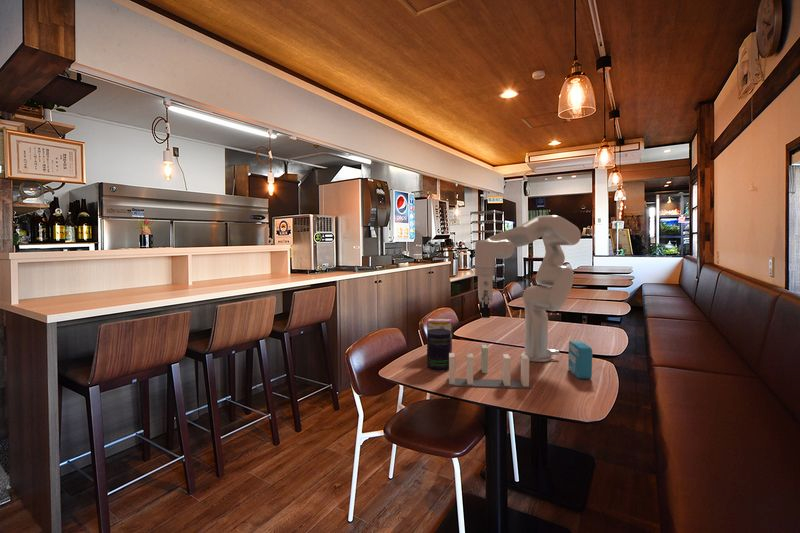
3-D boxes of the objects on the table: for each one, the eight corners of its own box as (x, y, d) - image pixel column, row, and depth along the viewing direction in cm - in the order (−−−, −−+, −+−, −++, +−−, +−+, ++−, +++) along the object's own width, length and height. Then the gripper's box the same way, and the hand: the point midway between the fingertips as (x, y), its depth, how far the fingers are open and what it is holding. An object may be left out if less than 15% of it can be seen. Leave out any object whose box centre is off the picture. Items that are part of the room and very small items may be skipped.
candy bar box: (426, 357, 180) (426, 320, 179) (427, 354, 185) (427, 318, 184) (452, 357, 179) (452, 321, 178) (451, 354, 184) (451, 318, 183)
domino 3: (508, 380, 149) (508, 354, 148) (510, 385, 144) (510, 358, 143) (502, 380, 149) (502, 354, 148) (504, 385, 144) (504, 358, 143)
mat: (527, 381, 149) (527, 380, 149) (531, 388, 142) (531, 387, 142) (446, 379, 153) (446, 378, 153) (447, 386, 145) (447, 385, 145)
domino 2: (472, 379, 150) (472, 353, 150) (473, 384, 145) (473, 357, 145) (466, 379, 151) (466, 353, 150) (467, 384, 146) (467, 357, 145)
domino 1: (454, 379, 151) (454, 353, 150) (454, 384, 146) (454, 357, 145) (449, 379, 151) (449, 352, 151) (449, 384, 146) (449, 356, 146)
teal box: (568, 369, 162) (568, 339, 161) (579, 369, 162) (580, 339, 161) (579, 380, 150) (580, 348, 149) (591, 380, 150) (592, 348, 149)
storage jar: (447, 372, 160) (447, 335, 159) (423, 369, 163) (423, 333, 162) (453, 364, 169) (453, 329, 168) (430, 362, 173) (430, 328, 171)
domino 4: (526, 381, 148) (526, 354, 147) (528, 386, 143) (529, 358, 142) (520, 381, 148) (520, 354, 148) (523, 386, 143) (523, 358, 143)
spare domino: (486, 369, 164) (486, 344, 163) (487, 373, 159) (487, 348, 158) (481, 368, 164) (481, 344, 163) (482, 373, 159) (482, 348, 158)
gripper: (497, 274, 149) (496, 319, 151) (492, 270, 166) (491, 311, 168) (476, 273, 150) (476, 319, 151) (473, 270, 167) (473, 311, 169)
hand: (484, 315), depth 160 cm, fingers open, 9 cm apart
